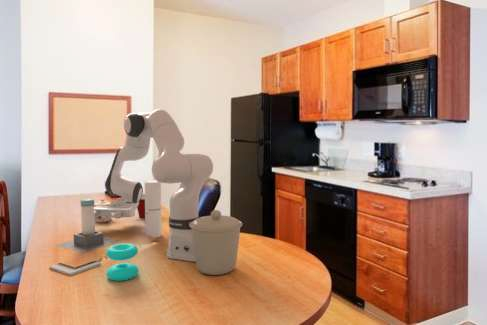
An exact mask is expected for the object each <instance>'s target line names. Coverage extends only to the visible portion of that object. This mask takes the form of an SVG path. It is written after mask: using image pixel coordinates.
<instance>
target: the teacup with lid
mask: <svg viewBox="0 0 487 325" xmlns="http://www.w3.org/2000/svg"><path fill="white" fill-rule="evenodd" d="M110 203H111V202H110V201H107V200H106V199H105V198H101V199H100V200H99V201H98V202H94V207H95V206H109V204H110ZM112 218H113V217H106V216H96V217H95V223H107V222H106V221H108V222H110V220H111V221H112V220H113V219H112Z"/></svg>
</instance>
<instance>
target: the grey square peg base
mask: <svg viewBox="0 0 487 325" xmlns="http://www.w3.org/2000/svg"><path fill="white" fill-rule="evenodd" d="M119 242H121V240H119V239H116V238H115V239H114V238H112V237H106V236H104V232H102V231H99V230H98V231H97V230H95V234H94V235H90V236H83V235H82V231H81V232H77V233H73V239H72V240H69V241H65V242H61V243H58V244H56V246H58V247H62V248H65V249H69V250H70V251H71V250H72V251H76V252H79V253H83V254H84V253H88V252H90V251H93V250H96V249H99V248H103V247H106V246H109V245H112V244H115V243H119Z"/></svg>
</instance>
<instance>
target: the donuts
mask: <svg viewBox="0 0 487 325" xmlns="http://www.w3.org/2000/svg"><path fill="white" fill-rule="evenodd" d="M138 250H139V248H138V247H137V245H136V244H133V243H118V244H114V245H111V246H110V247H108V248H107V249H106V251H105V255H106V256H107V258H108V259H110V260H112V261H126V260H127V261H128V260H131V259H133V258H134V257H135V256H137V254H138V253H139V252H138ZM138 274H139V268H138V266H137V265H136V264H134V263H130V262H120V263H119V262H118V263H116V264H114V265H112V266H110V267H108V269H107V272H106V277H107V278H108V279H109V280H111V281H114V282H115V281H116V282H122V280H124V281H128V279H129V280H131V278H132V279H133V277H134V278H136V276H138Z"/></svg>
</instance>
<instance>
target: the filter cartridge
mask: <svg viewBox="0 0 487 325" xmlns="http://www.w3.org/2000/svg"><path fill="white" fill-rule="evenodd" d="M79 202H80V215H81V232H82V235H83V236H90V235H94V234H95V231H96V222H95V217H94V204H95V199H93V198H84V199H81V200H80V201H79Z"/></svg>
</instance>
